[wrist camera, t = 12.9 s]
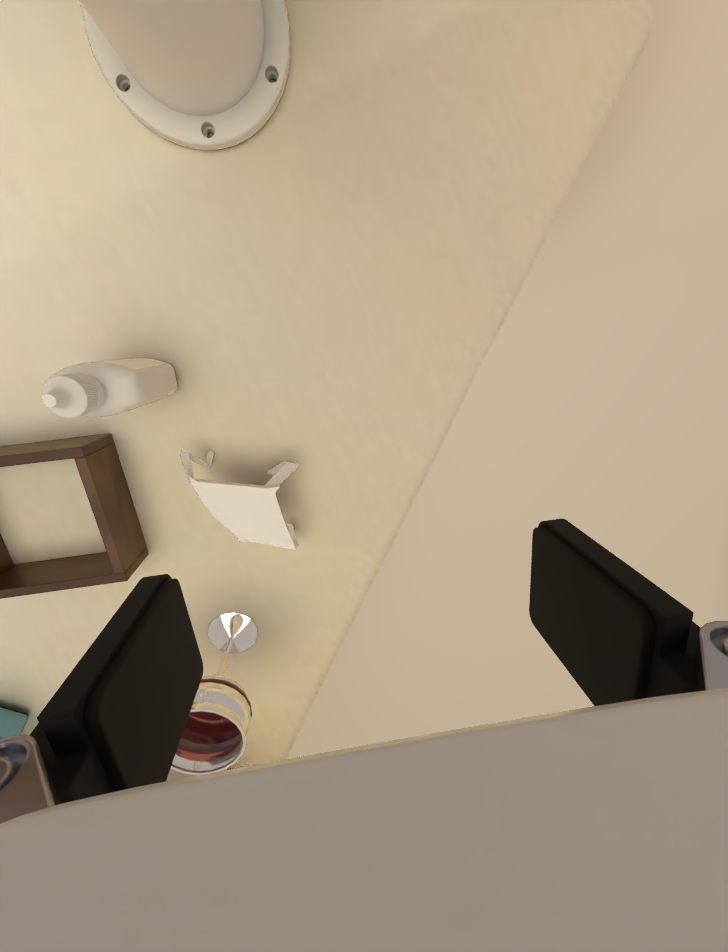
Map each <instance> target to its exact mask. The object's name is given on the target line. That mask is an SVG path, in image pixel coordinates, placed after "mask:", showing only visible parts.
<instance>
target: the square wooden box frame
mask: <svg viewBox="0 0 728 952" xmlns="http://www.w3.org/2000/svg"><path fill="white" fill-rule="evenodd" d="M71 458H74V459H75V462H76V465H77V468H78V471H79V474H80V476H81V479H82V482H83V485H84V488H85V491H86V493H87V496H88V499H89V502H90V505H91V508H92V511H93V513H94V516H95V519H96V522H97V525H98V528H99V530H100V533H101V536H102V539H103V542H104V545H105V548H106V550H107V552H105V553H98V554H91V555H83V556H76V557H68V558H61V559H54V560H46V561H39V562H32V563H24V564H17V565H13V563H12V560H11V558H10V556H9V554H8V551H7V549H6V547H5V545H4V542H3V540H2V538H1V536H0V599H1V598H8V597H15V596H22V595H29V594H36V593H44V592H51V591H58V590H65V589H72V588H79V587H86V586H93V585H100V584H108V583H115V582H122V581H127V580H128V579H129V578H130V576H131V575H132V574H133V573H134V571H135V570H136V569H137V568H138V567H139V565H140V564H141V563H142V562H143V560H144V559H145V558H146V557H147V555H148V551H147V547H146V544H145V541H144V537H143V534H142V531H141V528H140V525H139V521H138V518H137V515H136V512H135V509H134V505H133V502H132V499H131V496H130V493H129V489H128V486H127V483H126V480H125V477H124V473H123V470H122V467H121V464H120V461H119V458H118V454H117V451H116V448H115V445H114V443H113V439H112V435H111V434H103V435H94V436H86V437H77V438H68V439H60V440H51V441H43V442H34V443H26V444H17V445H8V446H0V467H4V466H12V465H21V464H29V463H38V462H46V461H54V460H63V459H71Z"/></svg>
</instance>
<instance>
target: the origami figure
mask: <svg viewBox="0 0 728 952" xmlns="http://www.w3.org/2000/svg"><path fill="white" fill-rule="evenodd" d="M180 457H181V460H182V464H183V467H184V470H185V473H186V475H187V478H188V480H189V482H190V483H191V485H192V486H193V488H194V489H195V491H196V492H197V494H198V495H199V497H200V498H201V500H202V501H203V503H204V504H205V506H206V507H207V509H208V510H209V512H210V513H211V514H212V515H213V516H214V517H215V518H216V519H217V520H218V521H220V522H221V523H222V524H223V525H224V526H225V527H226V528H227V529H228V530H230V531H231V532H232V533H233V534H234V535H235V538H236V540H239V542H241V541H248V542H254V543H260V544H266V545H272V546H278V547H284V548H290V549H292V550H294V551H296V549H297V547H298V542H297V539H296V536H295V533H294V528H295V527H294V526H293V525H292V524H289V523H288V528H287V526H286V524H285V522H284V520H283V517H282V514H281V511H280V507H279V504H278V501H277V498H276V494H275V492H276V491H277V490H278V489H279V488H280V486H279V484H280V483H281V482H283V481H284V480H285V479H286V478H287V477H288V476H289V475H290V474H292V473H293V472H294V471H295V470H296V469H297V467H298V465H299V464H298V463H291V462H287V461H282V462H281V463H279V464H278V465H277V466H275V467H274V468H272V469H271V470H269V471H268V475H274V476H273V477H272V478H271V479H270V480H269V481H268V482H267V483H266V484H265V485H264V486H263V485H253V484H243V483H233V482H223V481H213V480H203V479H195V478H194V475H193V471H192V467H191V463H190V460H192V461H194V462H197V463H199V464H201V465H203V466H205V467H209V468H210V467H211V463H212V460H213V457H214V452H212V451H208V455H207V458H206V461H205V462H204V461H203V460H201V459H199V458H197V457H196V456H194V455H192V454H191V453H189V452H187V451H185V450H181V453H180ZM288 529H289V530H288Z"/></svg>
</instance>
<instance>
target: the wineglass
mask: <svg viewBox="0 0 728 952" xmlns="http://www.w3.org/2000/svg"><path fill="white" fill-rule="evenodd" d="M257 635H258V633H257V627H256V625H255V623H254V622H253V621H252V620H251V619H250V618H249V617H247V616H245V615H243V614H238V613H226V614H223V615H220V616H218V617H217V618H215V619H214V620H213V621H212V622H211V624H210V625H209V629H208V637H209V639H210V641H211V643H212V644H213V645H214V646H215V647H216V648H218V649H220V650H222V651H224V655H223V658H222V660H221V663H220V666H219V668H218V671H217V674H212V675H204V676H202V679H201V682H200V685H199V688H198V691H197V694H196V696H195V699H194V702H193V705H192V708H191V711H190V714H189V717H188V719H187V722H186V725H185V728H184V731H183V734H182V737H181V739H180V742H179V745H178V748H177V751H176V754H175V757H174V760H173V762H172V765H171V769H173V770H176V771H179V772H182V773H184V774H192V775H203V774H208V773H214V772H219V771H222V770H225V769H227V768H228V767H230V766H231V765H233V764H234V763H236V762H237V761H238V759H239V758H240V757H241V756H242V754H243V752H244V749H245V745H246V740H245V736H246V734H247V731H248V729H249V725H250V722H251V716H252V712H251V704H250V701H249V697H248V695H247V693H246V691H245V690H244V688H243V687H242V686H241V685H239V684H238V683H237V682H236V681H234V680H233V679H231V678H228V677H226V676H225V672H226V667H227V663H228V659H229V654H230V653H235V652H241V651H244V650H247V649H248V648H249V647H251V646H252V645H253V644H254V642H255V641H256V639H257Z"/></svg>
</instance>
